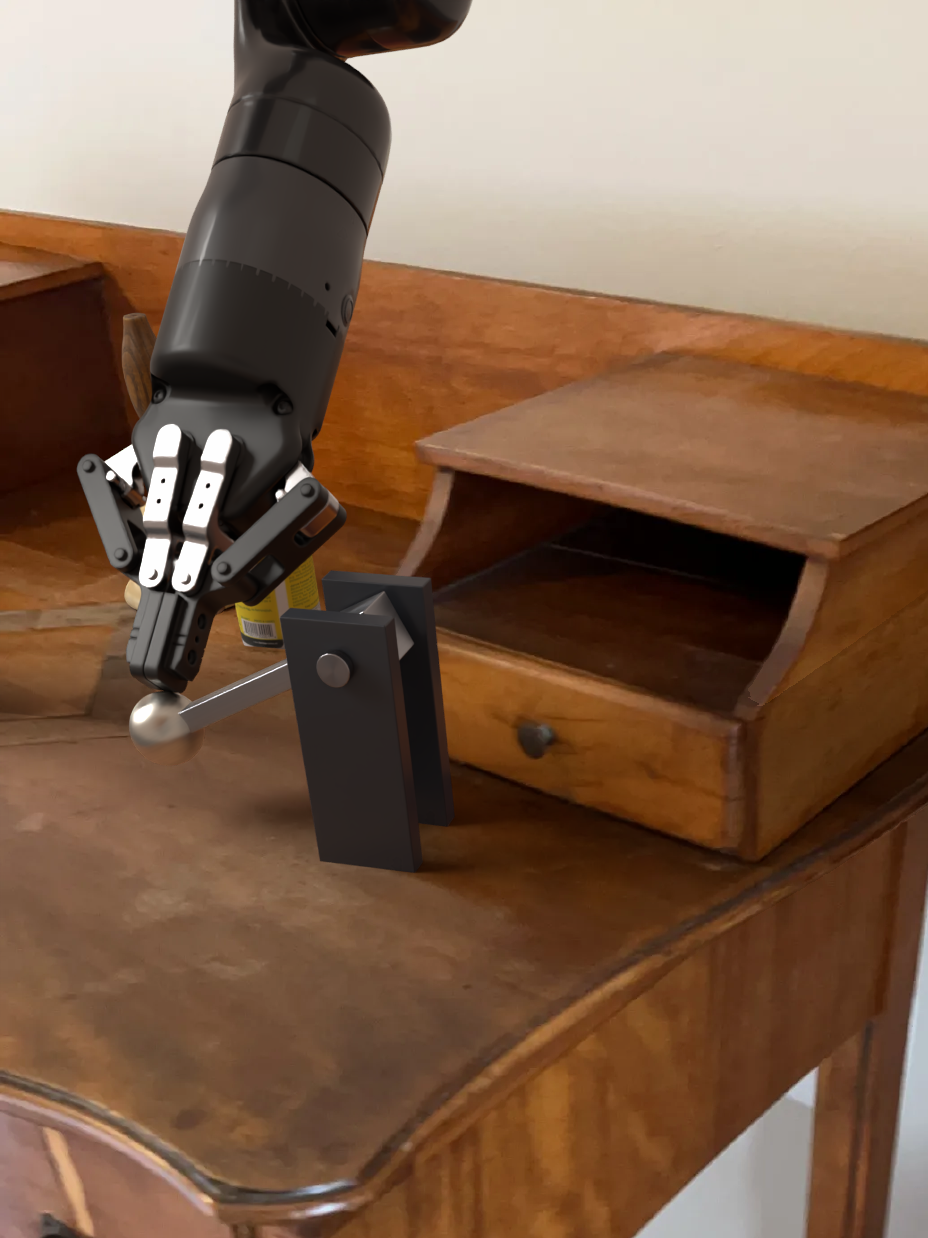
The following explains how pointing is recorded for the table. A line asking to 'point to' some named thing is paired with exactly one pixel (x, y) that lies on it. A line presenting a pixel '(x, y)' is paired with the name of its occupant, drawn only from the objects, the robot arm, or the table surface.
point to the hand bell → (138, 391)
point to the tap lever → (223, 701)
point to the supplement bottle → (278, 608)
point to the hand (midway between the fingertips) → (156, 684)
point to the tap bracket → (370, 720)
